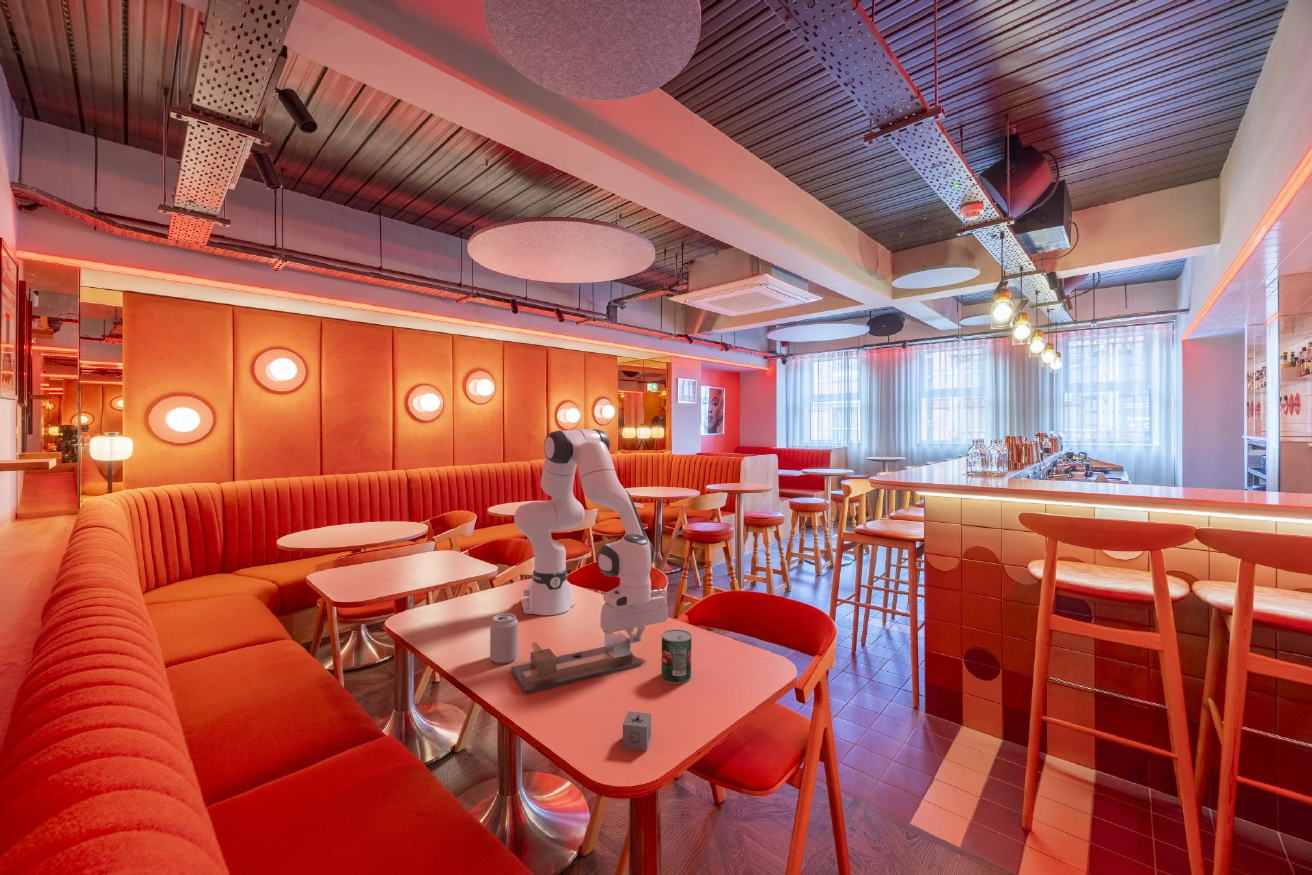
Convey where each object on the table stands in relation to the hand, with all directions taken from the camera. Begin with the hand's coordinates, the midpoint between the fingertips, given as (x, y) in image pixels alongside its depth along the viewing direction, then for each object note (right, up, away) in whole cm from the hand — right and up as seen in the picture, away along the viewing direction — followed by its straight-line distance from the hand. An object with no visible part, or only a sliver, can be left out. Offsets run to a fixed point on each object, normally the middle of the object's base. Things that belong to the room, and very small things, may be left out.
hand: (634, 641), depth 145 cm
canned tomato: (+11, -5, -11) cm, 16 cm away
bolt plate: (-15, -5, -7) cm, 17 cm away
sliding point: (-6, -3, 0) cm, 7 cm away
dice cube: (+2, -5, -39) cm, 40 cm away
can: (-37, -5, -1) cm, 37 cm away
